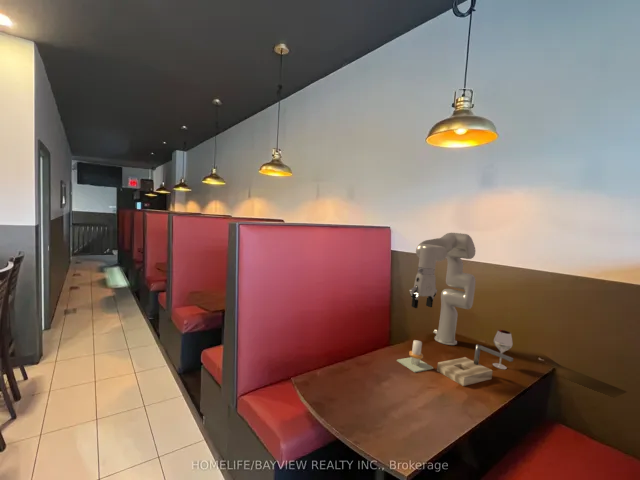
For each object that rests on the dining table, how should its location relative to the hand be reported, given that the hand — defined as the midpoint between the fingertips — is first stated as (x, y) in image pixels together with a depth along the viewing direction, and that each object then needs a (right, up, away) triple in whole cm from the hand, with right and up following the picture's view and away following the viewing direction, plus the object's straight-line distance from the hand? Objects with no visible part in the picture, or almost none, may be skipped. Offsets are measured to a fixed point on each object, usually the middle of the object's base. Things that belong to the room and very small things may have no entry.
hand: (421, 307), depth 147 cm
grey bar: (+30, -28, -6) cm, 41 cm away
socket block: (+18, -31, -4) cm, 36 cm away
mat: (-3, -28, +2) cm, 28 cm away
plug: (-3, -28, +2) cm, 28 cm away
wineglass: (+43, -32, +10) cm, 55 cm away
